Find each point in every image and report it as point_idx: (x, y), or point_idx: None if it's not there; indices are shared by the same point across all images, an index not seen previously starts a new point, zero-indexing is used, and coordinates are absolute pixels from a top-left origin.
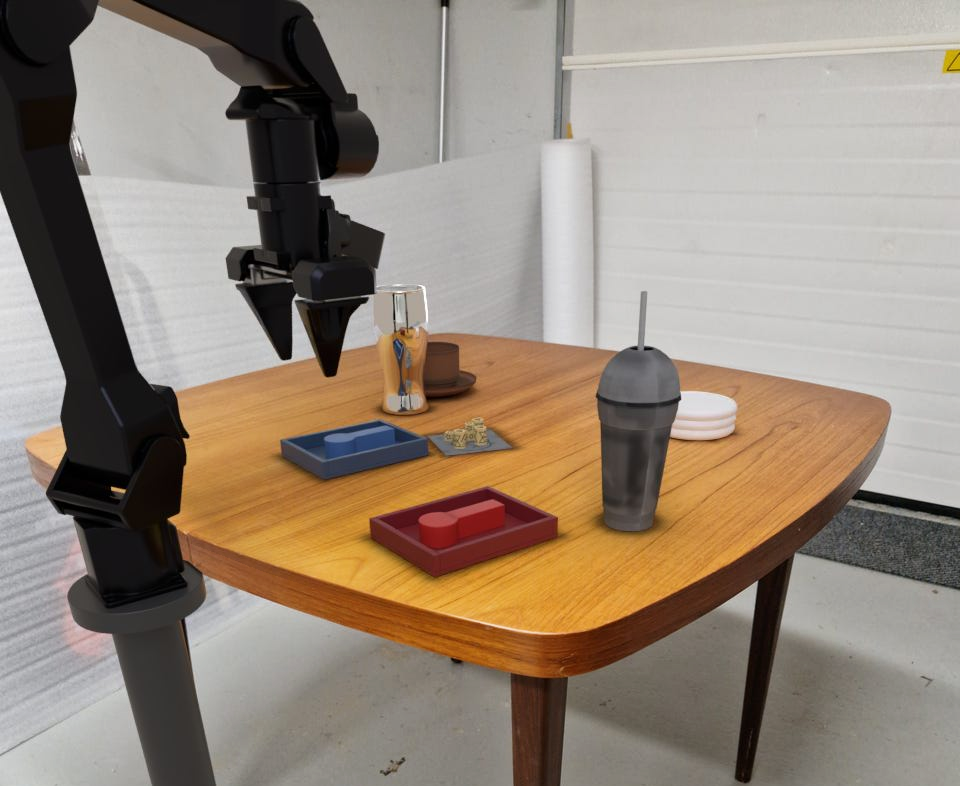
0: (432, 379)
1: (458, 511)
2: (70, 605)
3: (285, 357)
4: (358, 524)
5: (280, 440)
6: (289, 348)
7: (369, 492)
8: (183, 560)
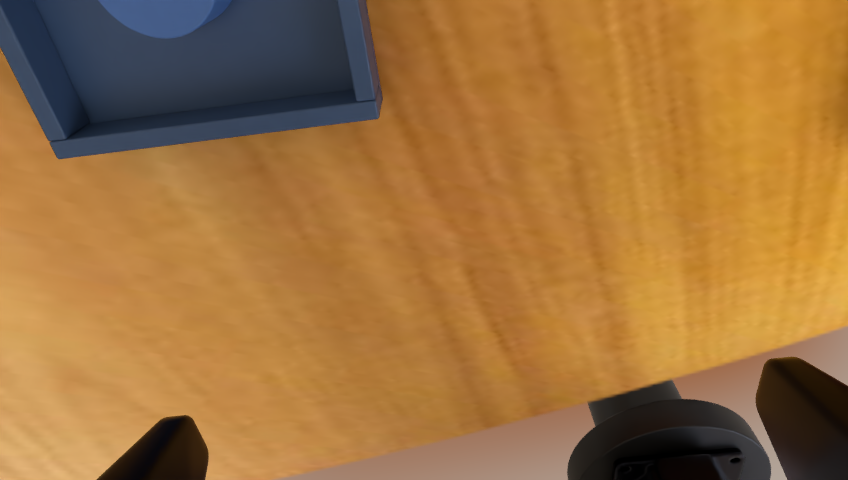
0: None
1: None
2: None
3: (196, 451)
4: (761, 142)
5: (63, 158)
6: (163, 474)
7: (569, 14)
8: (639, 437)
